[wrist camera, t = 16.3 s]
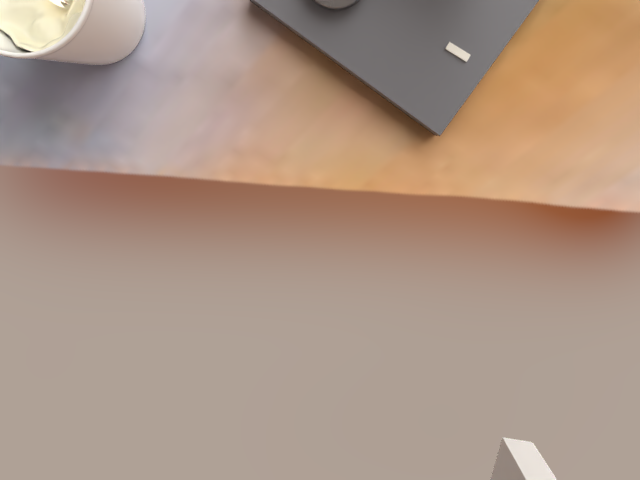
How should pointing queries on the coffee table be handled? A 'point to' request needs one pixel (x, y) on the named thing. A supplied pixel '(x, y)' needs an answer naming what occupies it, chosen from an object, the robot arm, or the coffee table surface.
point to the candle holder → (71, 29)
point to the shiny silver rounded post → (335, 4)
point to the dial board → (410, 46)
